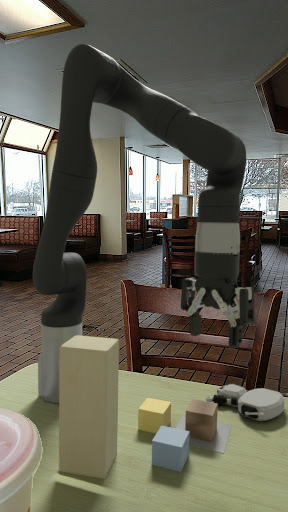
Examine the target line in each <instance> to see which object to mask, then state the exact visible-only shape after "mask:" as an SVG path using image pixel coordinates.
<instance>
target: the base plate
mask: <svg viewBox="0 0 288 512" xmlns="http://www.w3.org/2000/svg"><path fill="white" fill-rule="evenodd" d="M185 419H186V414H182V416H181V417H180V419H179V421H178V422H177V425H176V426H175V428H176V429H181V430H185ZM232 427H233V425H232V424H231V423H224V422H220V421H217V430H216V432H215V435H214V438H213V441H212V442H208V441H204V440H199V439H194V438H190V437H189V447H194V448H198V449H202V450H207V451H210V452H215V453H220V454H224V453H225V450H226V447H227V443H228V440H229V437H230V433H231V430H232Z"/></svg>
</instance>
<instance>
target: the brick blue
mask: <svg viewBox="0 0 288 512" xmlns="http://www.w3.org/2000/svg"><path fill="white" fill-rule="evenodd" d="M189 434H190V431H185V430H181V429H176V427H171V426H168V427H166V426H161V427H160V429H159V430H158V432H157V434H156V433H155V435H154V437H153V439H152V440H151V465H152V466H155V467H160V468H163V469H168V470H171V471H175V472H178V473H182V472H183V469H184V467H185V465H186V463H187V460H188V458H189V455H190V446H189Z"/></svg>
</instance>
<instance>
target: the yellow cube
mask: <svg viewBox="0 0 288 512" xmlns="http://www.w3.org/2000/svg"><path fill="white" fill-rule="evenodd" d="M137 414H138V415H137V421H138V422H137V429H138V430H139V431H143V432H147V433H148V432H149V433H152V434H155V435H156V434H157V432H158V430H159V429H160V427H161V426H166V427H170V424H171V422H172V421H171V420H172V402H171V401H167V400H162V399H157V398H151V397H147V398H146V399H145V400H144V401H143V403H142V404H141V405H140V406H139V408H138V413H137Z"/></svg>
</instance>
